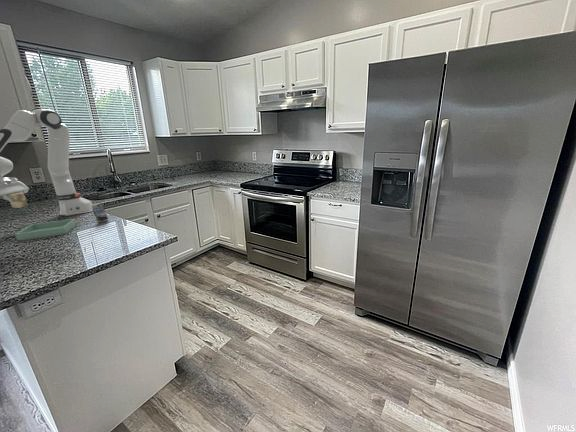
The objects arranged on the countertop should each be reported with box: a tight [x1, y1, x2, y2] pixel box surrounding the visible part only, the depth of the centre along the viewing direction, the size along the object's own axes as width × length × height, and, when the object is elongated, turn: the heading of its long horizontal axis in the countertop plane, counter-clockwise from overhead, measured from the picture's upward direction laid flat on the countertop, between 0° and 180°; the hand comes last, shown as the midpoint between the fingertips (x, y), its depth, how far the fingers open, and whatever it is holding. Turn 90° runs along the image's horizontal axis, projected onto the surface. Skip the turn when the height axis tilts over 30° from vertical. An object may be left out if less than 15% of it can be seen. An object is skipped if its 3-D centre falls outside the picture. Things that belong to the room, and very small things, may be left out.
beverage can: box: [92, 202, 108, 223], centre depth 169 cm, size 6×7×12 cm
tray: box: [14, 218, 78, 242], centre depth 155 cm, size 22×18×4 cm
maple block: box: [7, 193, 29, 209], centre depth 160 cm, size 5×5×8 cm
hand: (18, 199), depth 159 cm, fingers closed on maple block, 5 cm apart
